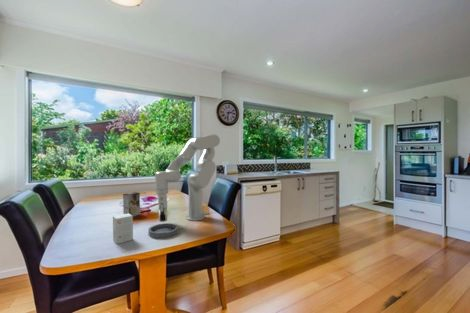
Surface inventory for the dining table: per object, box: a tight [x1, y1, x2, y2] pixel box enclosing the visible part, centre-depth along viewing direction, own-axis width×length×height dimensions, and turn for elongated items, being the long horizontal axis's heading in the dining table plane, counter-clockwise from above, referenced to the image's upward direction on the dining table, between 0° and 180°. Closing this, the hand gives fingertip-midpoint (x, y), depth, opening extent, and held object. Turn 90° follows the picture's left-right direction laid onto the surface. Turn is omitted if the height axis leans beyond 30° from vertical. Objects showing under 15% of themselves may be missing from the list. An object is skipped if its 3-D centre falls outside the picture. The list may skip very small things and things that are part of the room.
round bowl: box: [147, 222, 179, 240], centre depth 130 cm, size 16×16×3 cm
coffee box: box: [122, 191, 141, 217], centre depth 162 cm, size 9×6×16 cm
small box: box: [112, 213, 134, 245], centre depth 119 cm, size 8×6×13 cm
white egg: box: [158, 208, 168, 223], centre depth 144 cm, size 5×5×7 cm
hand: (163, 218), depth 144 cm, fingers closed on white egg, 5 cm apart
